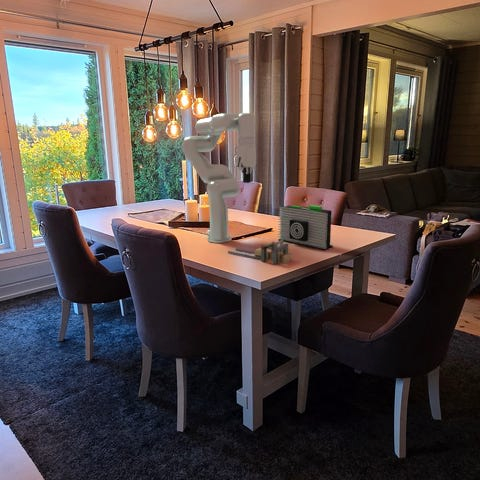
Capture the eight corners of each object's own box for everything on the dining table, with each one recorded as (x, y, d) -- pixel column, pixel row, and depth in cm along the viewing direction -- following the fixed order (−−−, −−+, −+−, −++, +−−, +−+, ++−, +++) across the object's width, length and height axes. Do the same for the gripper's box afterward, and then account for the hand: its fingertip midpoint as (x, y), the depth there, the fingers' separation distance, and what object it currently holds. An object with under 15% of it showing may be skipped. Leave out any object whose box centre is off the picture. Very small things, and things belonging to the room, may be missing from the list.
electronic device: (274, 241, 208) (275, 203, 203) (287, 238, 215) (288, 200, 210) (320, 252, 189) (322, 210, 184) (333, 247, 196) (335, 206, 191)
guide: (227, 253, 189) (227, 251, 188) (236, 250, 194) (236, 248, 193) (261, 260, 177) (261, 258, 177) (269, 256, 182) (269, 254, 182)
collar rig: (261, 261, 175) (261, 244, 173) (275, 255, 184) (275, 238, 182) (275, 264, 171) (275, 246, 169) (289, 258, 179) (289, 241, 178)
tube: (255, 258, 181) (254, 249, 180) (260, 255, 185) (260, 247, 184) (285, 264, 172) (285, 254, 171) (290, 262, 175) (291, 252, 174)
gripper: (249, 141, 191) (249, 180, 195) (229, 142, 179) (230, 183, 184) (262, 141, 186) (262, 181, 191) (243, 142, 175) (243, 184, 179)
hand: (246, 182), depth 187 cm, fingers closed
